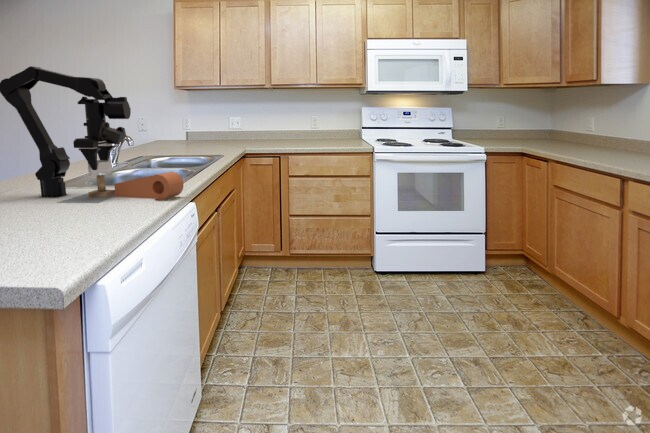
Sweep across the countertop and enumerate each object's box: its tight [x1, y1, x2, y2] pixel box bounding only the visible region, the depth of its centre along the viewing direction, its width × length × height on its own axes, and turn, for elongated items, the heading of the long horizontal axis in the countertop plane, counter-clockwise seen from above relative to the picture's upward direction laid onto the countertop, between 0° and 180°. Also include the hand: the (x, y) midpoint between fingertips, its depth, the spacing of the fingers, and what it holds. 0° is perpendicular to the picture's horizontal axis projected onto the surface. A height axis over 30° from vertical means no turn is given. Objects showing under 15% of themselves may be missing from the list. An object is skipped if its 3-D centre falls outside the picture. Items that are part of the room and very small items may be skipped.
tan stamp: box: [87, 174, 115, 197], centre depth 183 cm, size 6×6×6 cm
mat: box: [56, 193, 118, 204], centre depth 179 cm, size 13×17×1 cm
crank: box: [113, 171, 184, 201], centre depth 182 cm, size 20×8×8 cm, turn 72°
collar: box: [87, 159, 113, 174], centre depth 182 cm, size 6×6×4 cm
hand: (99, 168), depth 182 cm, fingers closed on collar, 6 cm apart
